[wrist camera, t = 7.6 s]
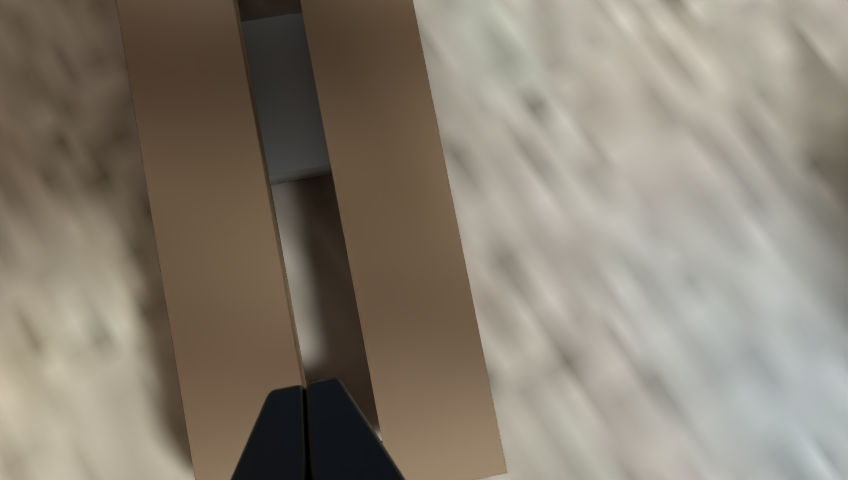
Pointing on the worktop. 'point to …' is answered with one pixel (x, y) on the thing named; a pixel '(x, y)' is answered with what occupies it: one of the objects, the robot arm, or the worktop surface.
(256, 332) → the slotted wooden board
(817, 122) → the worktop surface
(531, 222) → the worktop surface
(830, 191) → the worktop surface
